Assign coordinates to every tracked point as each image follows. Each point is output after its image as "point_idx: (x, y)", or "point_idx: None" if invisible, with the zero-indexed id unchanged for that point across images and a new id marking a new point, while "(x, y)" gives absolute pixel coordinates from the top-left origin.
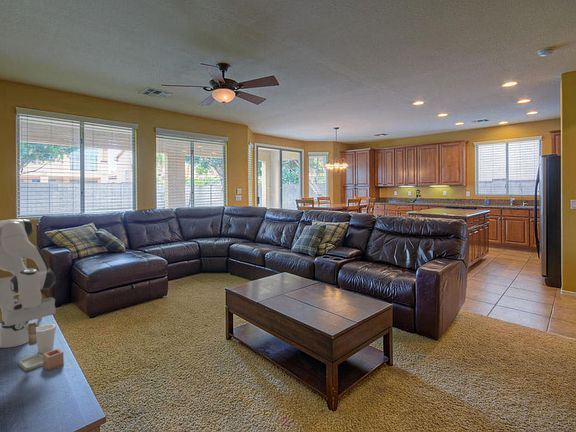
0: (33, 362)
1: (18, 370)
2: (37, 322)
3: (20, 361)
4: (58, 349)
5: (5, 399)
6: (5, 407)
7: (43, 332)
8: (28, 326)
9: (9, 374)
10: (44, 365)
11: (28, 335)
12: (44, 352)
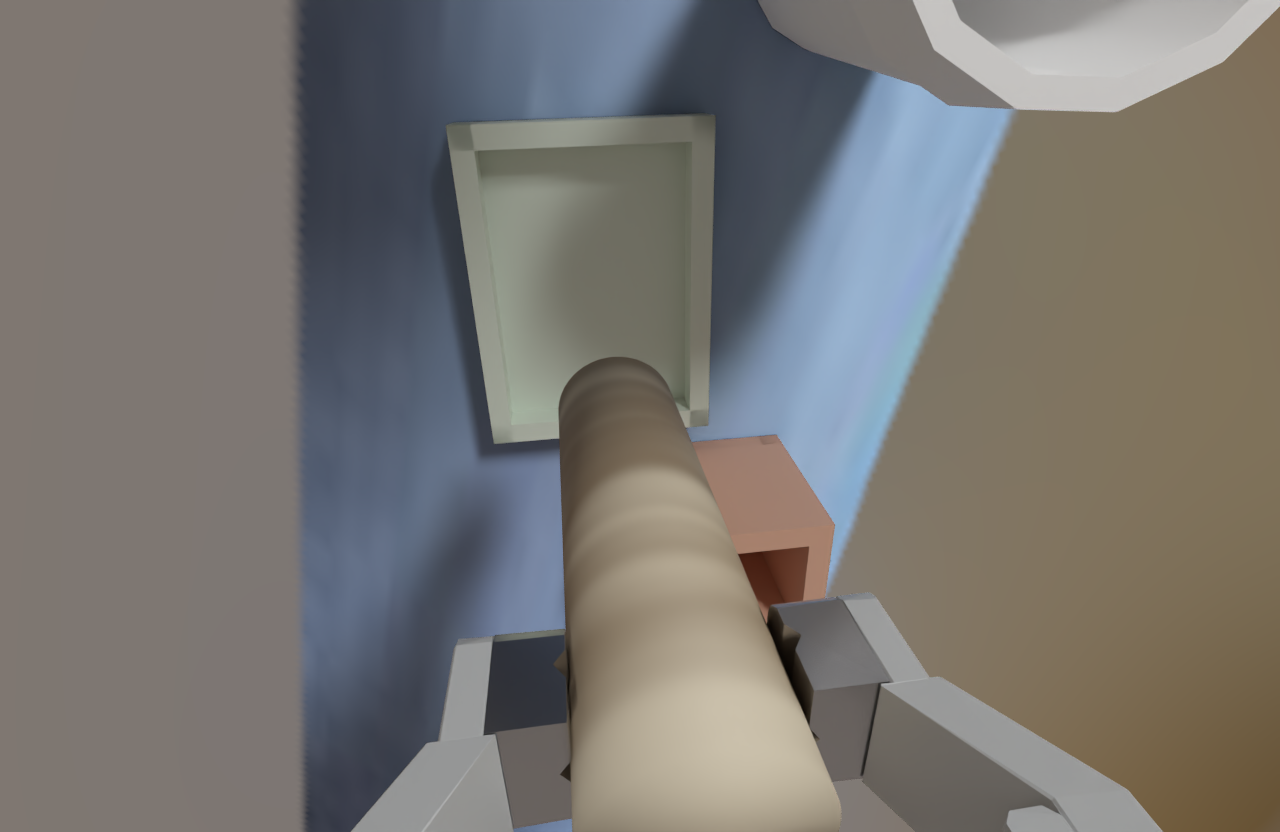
0: (594, 284)
1: (434, 326)
2: (899, 746)
3: (468, 195)
4: (823, 557)
5: (308, 733)
6: (308, 808)
7: (955, 87)
8: (568, 813)
9: (345, 350)
10: None
11: (562, 518)
12: (789, 38)
